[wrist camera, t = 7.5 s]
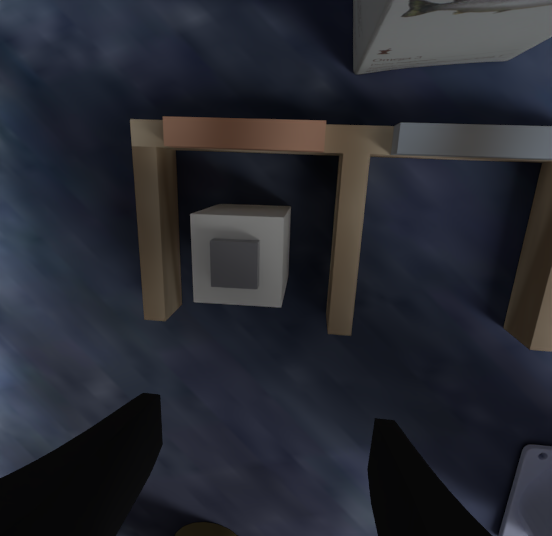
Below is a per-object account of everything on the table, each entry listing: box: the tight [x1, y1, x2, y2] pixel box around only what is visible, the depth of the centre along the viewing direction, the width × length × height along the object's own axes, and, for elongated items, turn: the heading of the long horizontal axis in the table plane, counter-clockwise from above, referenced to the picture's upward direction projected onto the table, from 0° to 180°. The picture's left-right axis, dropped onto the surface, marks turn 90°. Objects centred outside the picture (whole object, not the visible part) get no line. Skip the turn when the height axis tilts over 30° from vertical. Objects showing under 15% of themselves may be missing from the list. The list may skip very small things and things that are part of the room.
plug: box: [190, 204, 291, 308], centre depth 17 cm, size 4×4×6 cm
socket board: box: [130, 116, 552, 351], centre depth 17 cm, size 21×10×4 cm, turn 88°
